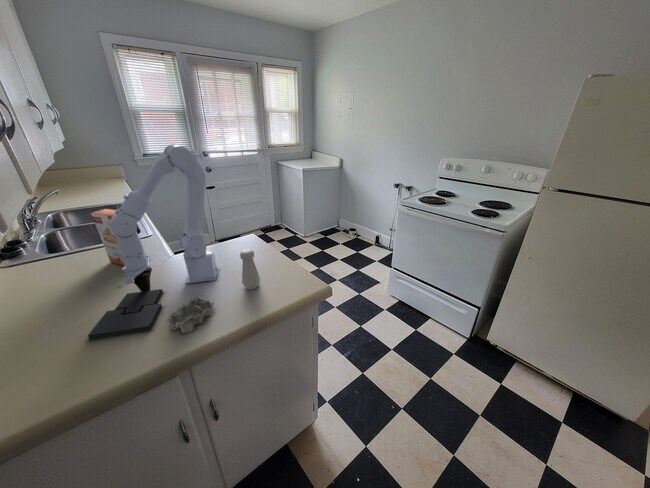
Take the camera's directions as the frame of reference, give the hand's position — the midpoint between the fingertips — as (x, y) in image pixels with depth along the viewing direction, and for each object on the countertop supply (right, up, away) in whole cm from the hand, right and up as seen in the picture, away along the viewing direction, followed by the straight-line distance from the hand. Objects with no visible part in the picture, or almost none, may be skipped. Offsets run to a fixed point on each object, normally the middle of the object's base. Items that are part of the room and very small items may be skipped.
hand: (146, 291), depth 86 cm
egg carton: (+20, -6, -11) cm, 24 cm away
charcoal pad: (+3, -7, -12) cm, 14 cm away
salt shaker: (+33, +1, +4) cm, 33 cm away
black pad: (+1, -3, -5) cm, 6 cm away
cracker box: (-21, +8, +20) cm, 30 cm away
